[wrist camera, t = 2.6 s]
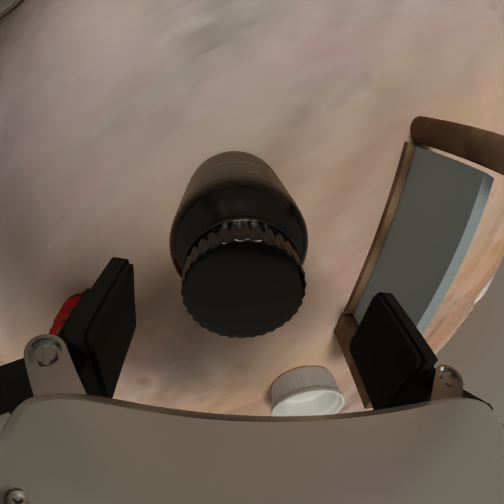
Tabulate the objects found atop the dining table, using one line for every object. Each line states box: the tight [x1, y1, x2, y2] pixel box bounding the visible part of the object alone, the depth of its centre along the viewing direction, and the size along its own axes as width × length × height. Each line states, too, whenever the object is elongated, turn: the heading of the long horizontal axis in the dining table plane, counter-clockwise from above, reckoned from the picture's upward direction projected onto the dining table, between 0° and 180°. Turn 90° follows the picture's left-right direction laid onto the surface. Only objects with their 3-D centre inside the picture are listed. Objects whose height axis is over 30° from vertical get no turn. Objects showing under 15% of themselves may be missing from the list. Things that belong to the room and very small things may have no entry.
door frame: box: [334, 116, 504, 409], centre depth 18 cm, size 23×3×13 cm, turn 169°
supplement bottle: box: [169, 151, 308, 338], centre depth 16 cm, size 7×7×12 cm
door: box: [353, 146, 494, 335], centre depth 20 cm, size 17×3×8 cm, turn 169°
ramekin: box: [271, 366, 345, 416], centre depth 31 cm, size 9×9×4 cm
